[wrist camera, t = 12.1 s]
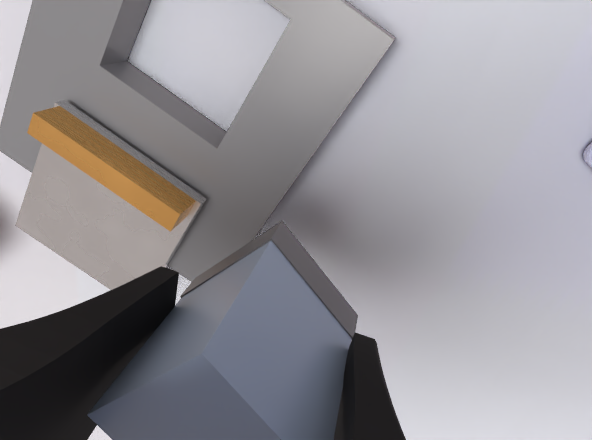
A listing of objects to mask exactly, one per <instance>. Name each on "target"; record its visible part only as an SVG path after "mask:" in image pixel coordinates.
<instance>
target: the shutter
mask: <svg viewBox="0 0 592 440" xmlns="http://www.w3.org/2000/svg"><path fill="white" fill-rule="evenodd" d="M27 133H28V134H29V135H31V136H32V137H34V138H35V139H37V140H38V141H39V142H41V143H42V144H41V147H40V150H39V154H38V157H37V160H36V163H35V166H34V169H33V172H32V175H31V178H30V182H29V185H28V188H27V191H26V194H25V197H24V200H23V203H22V206H21V209H20V213H19V216H18V219H17V222H16V225H15V226H17V227H18V228H20V229H21V230H23V231H24V232H26V233H27V234H29V235H30V236H32V237H33V238H35V239H36V240H38V241H39V242H41V243H42V244H44V245H45V246H46V247H48V248H49V249H51V250H52V251H54V252H55V253H57V254H58V255H60V256H61V257H63V258H64V259H66V260H67V261H69V262H70V263H72V264H73V265H75V266H76V267H78V268H79V269H81V270H82V271H84V272H85V273H87V274H88V275H90V276H91V277H93V278H94V279H95V280H97V281H98V282H100V283H101V284H103V285H104V286H106V287H107V288H109V289H110V290H113V289H115V288H117V287H119V286H121V285H123V284H125V283H127V282H129V281H132V280H134V279H136V278H138V277H140V276H142V275H144V274H146V273H148V272H150V271H152V270H154V269H156V268H158V267H161V266H162V267H165V268H166V266H167V265H168V263H169V261H170V260H171V258H172V256H173V255H174V253H175V251H176V250H177V248H178V246H179V245H180V243H181V241H182V239H183V238H184V236H185V234H186V233H187V231H188V229H189V228H190V226H191V224H192V223H193V221H194V219H195V218H196V216H197V214H198V213H199V211H200V209H201V208H202V206H203V204H204V203H205V201H206V198H205V197H203V196H202V195H200V194H199V193H197V192H196V191H195V190H193V189H192V188H190V187H189V186H187V185H186V184H185V183H183V182H182V181H180V180H179V179H177V178H176V177H175V176H173V175H172V174H170V173H169V172H167V171H166V170H164V169H163V168H162V167H160V166H159V165H157V164H156V163H154V162H153V161H152V160H150V159H149V158H147V157H146V156H144V155H143V154H142V153H140V152H139V151H137V150H136V149H134V148H133V147H132V146H130V145H129V144H127V143H126V142H124V141H123V140H122V139H120V138H119V137H117V136H116V135H114V134H113V133H111V132H110V131H109V130H107V129H106V128H104V127H103V126H101V125H100V124H99V123H97V122H96V121H94V120H93V119H91V118H90V117H89V116H87V115H86V114H84V113H83V112H81V111H80V110H79V109H77V108H76V107H74V106H73V105H71V104H70V103H69V102H67V101H66V100H63V101H59V102H55V104H54V107H53V108H50V109H46V110H42V111H38V112H34V113H33V115H32V118H31V121H30V125H29V128H28V131H27Z"/></svg>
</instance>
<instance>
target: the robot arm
mask: <svg viewBox="0 0 592 440" xmlns="http://www.w3.org/2000/svg"><path fill="white" fill-rule="evenodd" d="M583 157H584V160H585V162H586V163H587V164H588V165H589V166H591V167H592V143H591V144H589V145H588V146H587V148H586V149H585V150H584V154H583ZM178 276H179V272H177V271H174V270H171V269H168V268H165V267H162V266H161V267H158V268H156V269H154V270H152V271H150V272H148V273H146V274H144V275H142V276H140V277H138V278H136V279H134V280H132V281H129V282H127V283H125V284H123V285H121V286H119V287H117V288H115V289H113V290H110V291H108V292H106V293H104V294H102V295H99V296H97V297H95V298H92V299H90V300H87V301H85V302H83V303H80V304H78V305H75V306H73V307H70V308H68V309H65V310H62V311H60V312H57V313H54V314H51V315H48V316H45V317H42V318H38V319H35V320H32V321H29V322H25V323H21V324H17V325H14V326H10V327H6V328H2V329H0V440H87V439H88V438H89V436H90V435H91V433H92V432H93V430H94V429H95V427H96V426H97V424H96V423H95V422H94V421H93V420H92V419H91V418H90V417H88V416H87V414H88V413H89V412H90V411H91V409H92V408H93V407H94V406H95V405H96V403H97V402H98V401H99V400H100V398H101V397H102V396H103V395H104V393H105V392H106V391H107V390H108V388H109V387H110V386H111V385H112V383H113V382H114V381H115V380H116V379H117V377H118V376H119V375H120V374H121V372H122V371H123V370H124V369H125V367H126V366H127V365H128V364H129V362H130V361H131V360H132V359H133V357H134V356H135V355H136V354H137V352H138V351H139V350H140V349H141V348H142V346H143V345H144V344H145V343H146V341H147V340H148V339H149V338H150V336H151V335H152V334H153V333H154V331H155V330H156V329H157V328H158V327H159V326H160V324H161V323H162V322H163V321H164V319H165V318H166V317H167V316H168V314H169V313H170V312H171V311H172V309H173V308H174V307H175V300H176V292H177V284H178ZM334 440H406V439H405V436H404V434H403V431H402V429H401V426H400V424H399V421H398V418H397V416H396V413H395V410H394V407H393V404H392V401H391V398H390V395H389V392H388V389H387V385H386V382H385V378H384V375H383V371H382V367H381V362H380V358H379V353H378V348H377V343H376V341H375V339H373V338H370V337H367V336H364V335H361V334H358V333H354V336H353V338H352V341H351V344H350V346H349V349H348V354H347V360H346V365H345V371H344V379H343V389H342V395H341V400H340V406H339V412H338V417H337V423H336V428H335V434H334Z"/></svg>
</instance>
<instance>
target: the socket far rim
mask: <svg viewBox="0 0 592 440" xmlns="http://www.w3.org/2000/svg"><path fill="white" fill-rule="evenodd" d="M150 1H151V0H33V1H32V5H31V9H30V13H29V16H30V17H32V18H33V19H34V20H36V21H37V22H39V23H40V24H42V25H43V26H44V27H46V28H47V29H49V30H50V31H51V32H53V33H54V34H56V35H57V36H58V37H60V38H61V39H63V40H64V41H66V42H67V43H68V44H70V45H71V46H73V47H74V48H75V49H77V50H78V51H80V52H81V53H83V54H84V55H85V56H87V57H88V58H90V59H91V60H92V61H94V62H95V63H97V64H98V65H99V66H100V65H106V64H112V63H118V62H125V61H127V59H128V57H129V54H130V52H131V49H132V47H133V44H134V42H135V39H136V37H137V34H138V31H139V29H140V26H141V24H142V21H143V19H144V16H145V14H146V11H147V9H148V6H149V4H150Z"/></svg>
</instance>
